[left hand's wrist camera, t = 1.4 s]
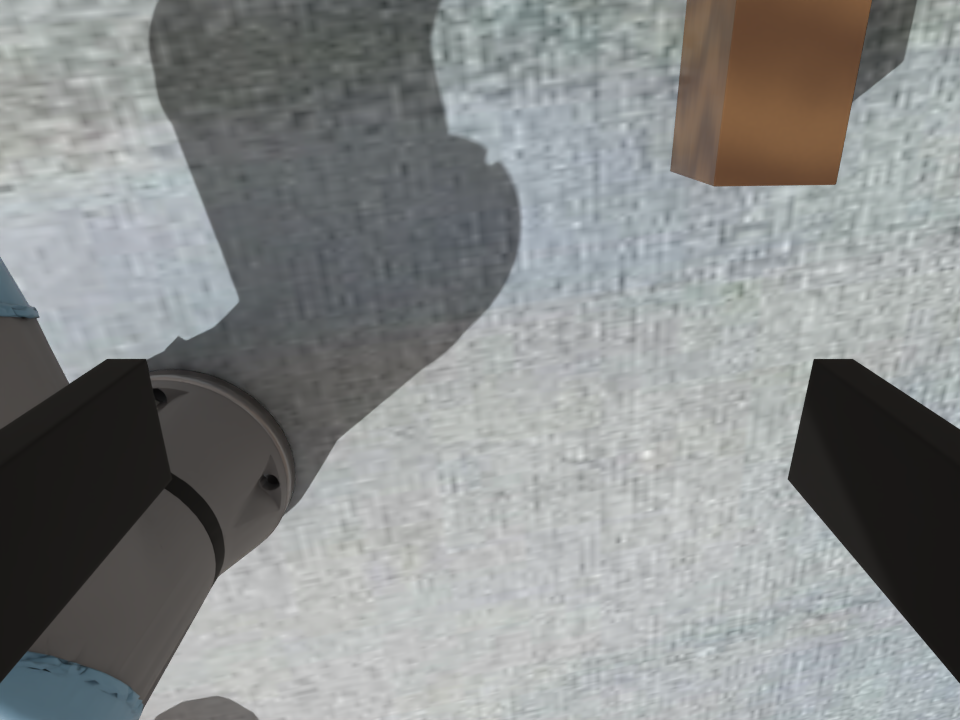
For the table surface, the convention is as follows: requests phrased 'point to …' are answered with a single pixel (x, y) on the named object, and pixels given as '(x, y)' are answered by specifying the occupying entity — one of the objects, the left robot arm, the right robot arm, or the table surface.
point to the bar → (766, 90)
